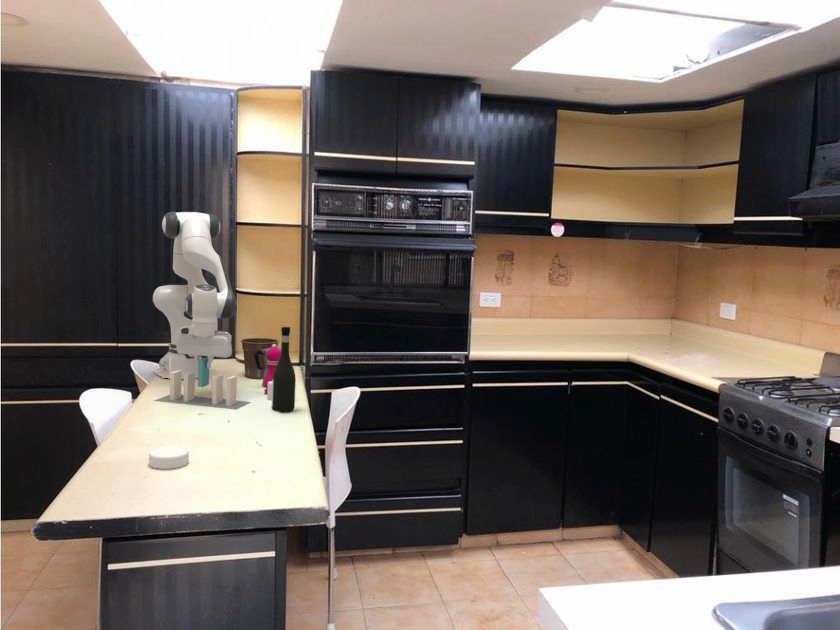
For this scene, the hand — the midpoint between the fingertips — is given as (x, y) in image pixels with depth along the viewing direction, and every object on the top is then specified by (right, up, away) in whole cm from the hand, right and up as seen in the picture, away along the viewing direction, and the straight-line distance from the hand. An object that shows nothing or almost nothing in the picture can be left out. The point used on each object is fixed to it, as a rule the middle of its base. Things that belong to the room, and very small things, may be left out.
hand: (203, 367), depth 242 cm
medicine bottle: (+25, -14, +11) cm, 31 cm away
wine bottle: (+29, -15, -3) cm, 33 cm away
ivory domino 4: (+10, -13, 0) cm, 17 cm away
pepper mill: (+20, -12, +20) cm, 31 cm away
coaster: (+11, -21, -64) cm, 68 cm away
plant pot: (+7, -8, +52) cm, 53 cm away
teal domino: (0, -7, +1) cm, 7 cm away
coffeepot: (+17, -11, +34) cm, 39 cm away
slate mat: (-1, -13, +2) cm, 13 cm away
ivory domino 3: (+5, -13, +1) cm, 14 cm away
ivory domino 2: (-6, -12, +2) cm, 14 cm away
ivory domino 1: (-12, -12, +3) cm, 17 cm away
